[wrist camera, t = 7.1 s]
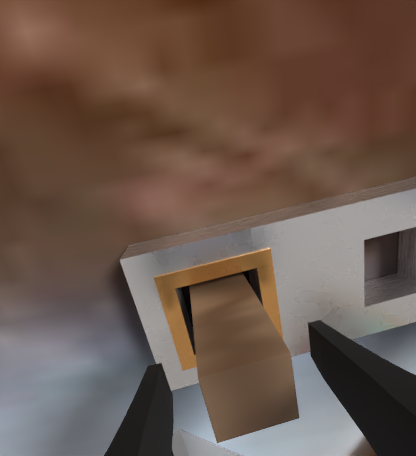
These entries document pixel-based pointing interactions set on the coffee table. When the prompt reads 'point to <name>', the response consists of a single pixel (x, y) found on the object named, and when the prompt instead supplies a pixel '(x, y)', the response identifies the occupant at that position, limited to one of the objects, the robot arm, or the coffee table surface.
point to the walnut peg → (240, 359)
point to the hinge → (196, 446)
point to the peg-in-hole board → (282, 271)
